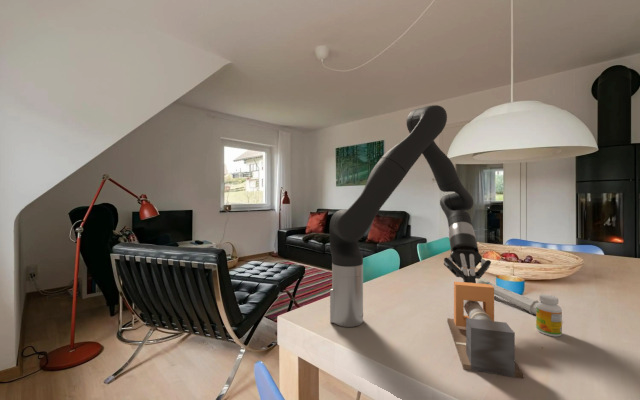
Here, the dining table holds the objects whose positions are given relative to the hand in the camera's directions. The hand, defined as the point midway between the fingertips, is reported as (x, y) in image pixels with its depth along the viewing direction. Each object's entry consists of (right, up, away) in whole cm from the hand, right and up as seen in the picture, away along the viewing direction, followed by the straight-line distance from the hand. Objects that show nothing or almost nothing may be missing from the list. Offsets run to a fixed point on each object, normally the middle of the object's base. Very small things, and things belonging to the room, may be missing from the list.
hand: (471, 290), depth 76 cm
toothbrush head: (+24, -12, +20) cm, 33 cm away
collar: (0, -9, -2) cm, 9 cm away
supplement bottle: (+21, -11, -1) cm, 24 cm away
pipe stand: (-2, -11, -7) cm, 13 cm away
